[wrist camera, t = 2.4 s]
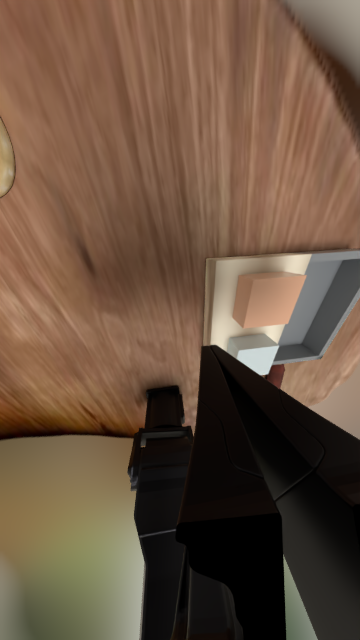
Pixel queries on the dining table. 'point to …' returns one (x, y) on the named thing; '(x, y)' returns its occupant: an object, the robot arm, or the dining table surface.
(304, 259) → the board
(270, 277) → the tile terracotta
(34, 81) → the dining table surface
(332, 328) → the tray
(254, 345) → the grey sharp-edged block
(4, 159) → the hand bell
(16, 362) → the dining table surface
